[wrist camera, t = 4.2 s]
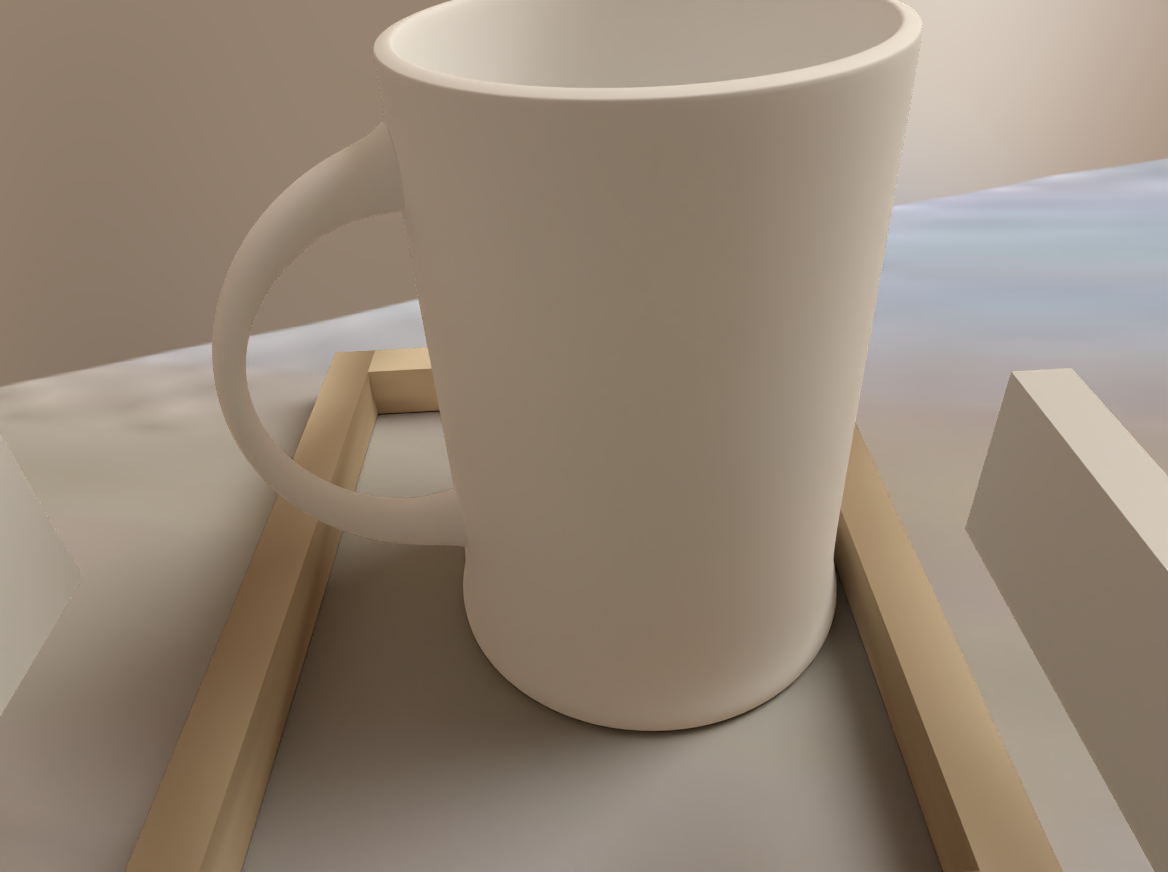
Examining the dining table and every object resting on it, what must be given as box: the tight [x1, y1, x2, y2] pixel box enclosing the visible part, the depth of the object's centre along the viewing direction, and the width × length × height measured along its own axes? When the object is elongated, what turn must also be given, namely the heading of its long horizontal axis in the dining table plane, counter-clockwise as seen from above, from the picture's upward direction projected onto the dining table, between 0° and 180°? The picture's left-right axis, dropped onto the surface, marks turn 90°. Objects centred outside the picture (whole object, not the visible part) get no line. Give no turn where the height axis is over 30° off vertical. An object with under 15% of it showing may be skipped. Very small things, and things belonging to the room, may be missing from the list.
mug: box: [212, 0, 922, 731], centre depth 16 cm, size 12×8×12 cm
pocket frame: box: [125, 348, 1063, 872], centre depth 19 cm, size 14×17×2 cm
